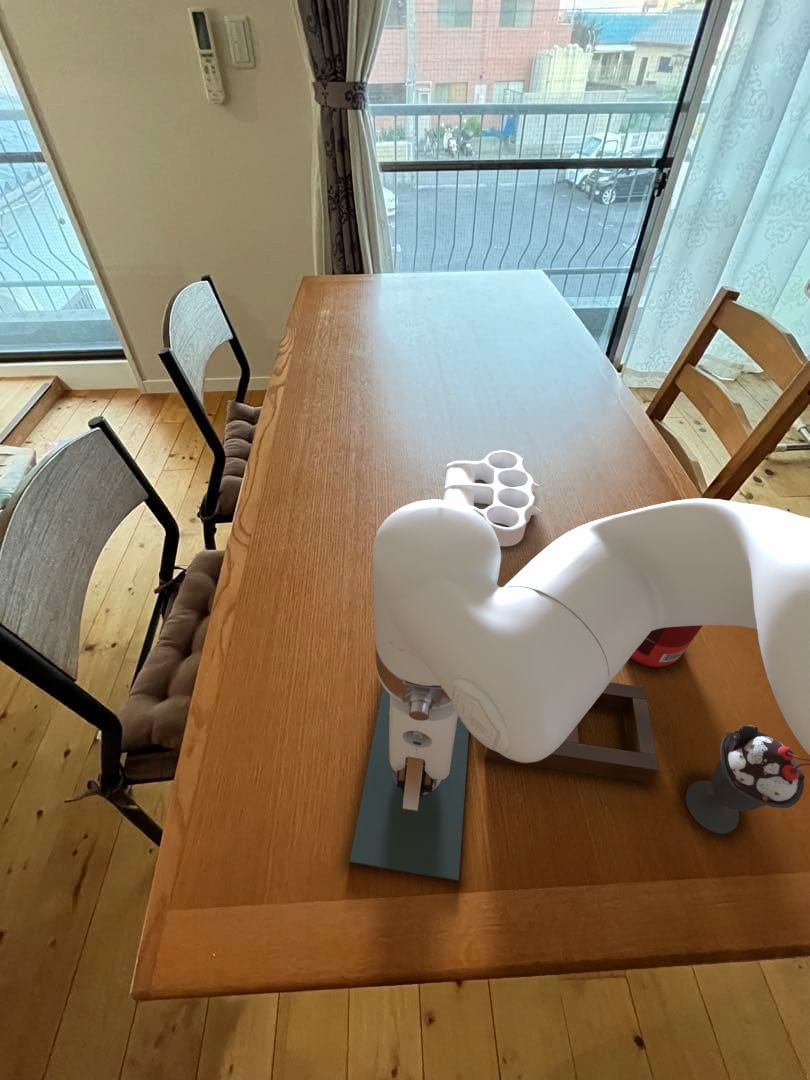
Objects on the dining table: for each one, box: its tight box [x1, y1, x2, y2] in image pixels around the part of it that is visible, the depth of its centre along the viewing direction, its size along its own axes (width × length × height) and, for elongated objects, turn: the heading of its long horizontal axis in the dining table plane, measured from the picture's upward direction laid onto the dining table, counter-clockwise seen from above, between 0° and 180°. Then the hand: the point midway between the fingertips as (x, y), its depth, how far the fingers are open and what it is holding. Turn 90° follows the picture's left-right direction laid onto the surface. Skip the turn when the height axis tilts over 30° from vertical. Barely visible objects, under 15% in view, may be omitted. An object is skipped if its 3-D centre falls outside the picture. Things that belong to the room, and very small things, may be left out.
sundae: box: [685, 724, 810, 834], centre depth 49 cm, size 7×7×15 cm
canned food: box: [629, 625, 704, 668], centre depth 64 cm, size 8×8×11 cm
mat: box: [349, 686, 470, 882], centre depth 56 cm, size 18×10×1 cm, turn 172°
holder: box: [483, 681, 659, 784], centre depth 59 cm, size 9×16×4 cm, turn 82°
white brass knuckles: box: [443, 450, 543, 547], centre depth 83 cm, size 3×18×15 cm
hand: (419, 753), depth 53 cm, fingers closed on pill bottle, 5 cm apart
